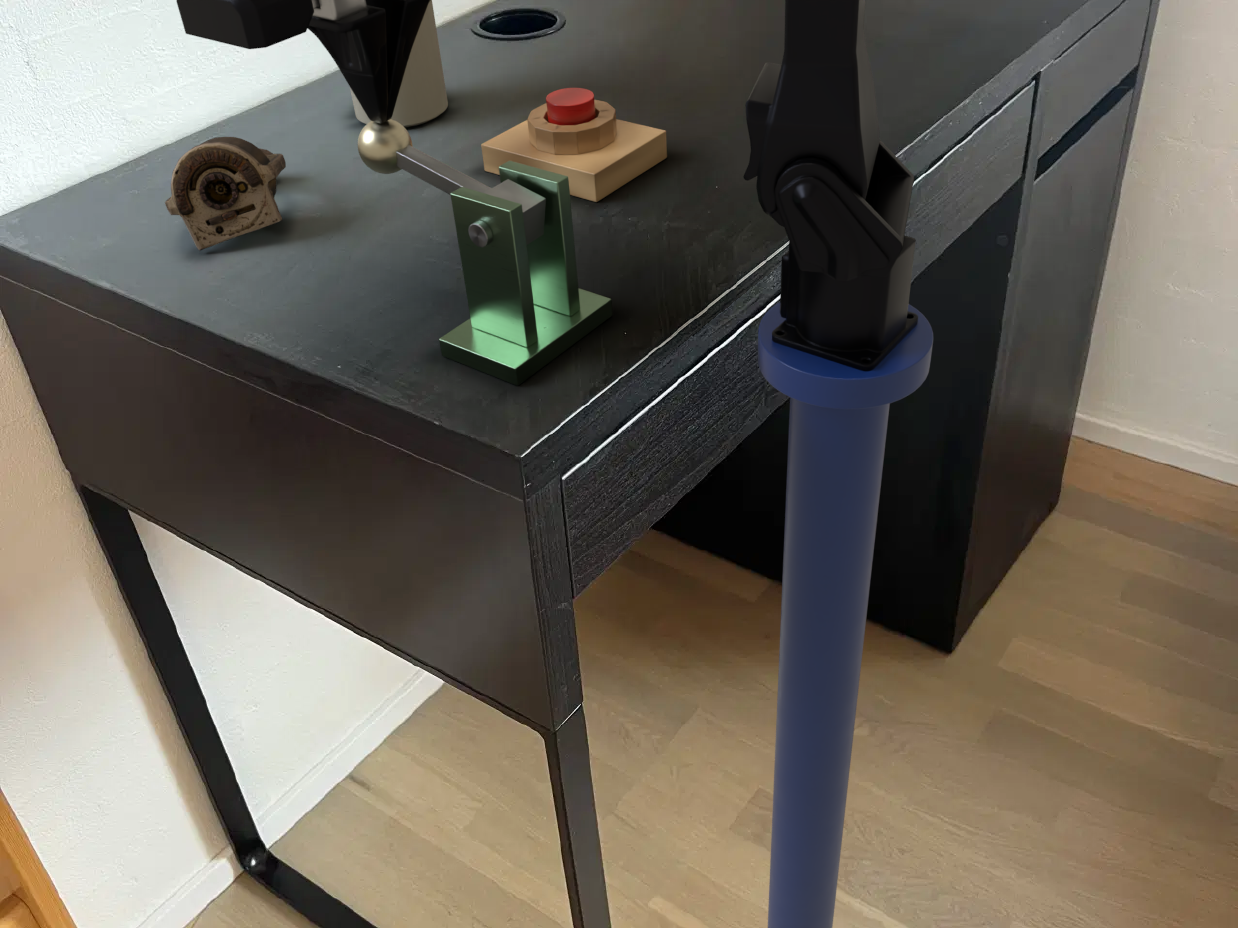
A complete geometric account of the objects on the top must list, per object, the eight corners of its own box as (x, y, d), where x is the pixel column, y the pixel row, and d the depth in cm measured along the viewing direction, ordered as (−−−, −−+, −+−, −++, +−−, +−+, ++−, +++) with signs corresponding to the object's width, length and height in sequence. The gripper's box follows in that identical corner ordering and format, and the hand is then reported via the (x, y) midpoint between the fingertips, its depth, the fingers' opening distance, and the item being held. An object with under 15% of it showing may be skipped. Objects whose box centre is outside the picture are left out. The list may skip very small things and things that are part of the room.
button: (605, 115, 86) (603, 92, 85) (575, 132, 84) (573, 109, 83) (568, 106, 88) (566, 84, 87) (538, 123, 86) (535, 100, 85)
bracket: (441, 356, 68) (413, 204, 62) (538, 290, 73) (521, 145, 67) (517, 386, 65) (496, 229, 59) (612, 315, 70) (601, 165, 64)
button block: (667, 157, 88) (665, 107, 86) (596, 202, 83) (592, 150, 80) (557, 130, 94) (552, 82, 91) (484, 171, 88) (477, 121, 86)
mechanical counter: (103, 184, 77) (226, 157, 74) (186, 96, 86) (298, 69, 83) (161, 271, 82) (279, 250, 79) (234, 179, 91) (342, 156, 88)
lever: (347, 169, 68) (344, 121, 66) (386, 150, 70) (384, 102, 68) (512, 260, 64) (515, 211, 62) (549, 237, 66) (552, 188, 63)
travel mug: (459, 119, 97) (424, -113, 86) (366, 138, 95) (318, -98, 84) (435, 89, 103) (400, -131, 92) (348, 106, 101) (301, -117, 90)
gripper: (350, -219, 67) (397, 50, 76) (66, -156, 55) (164, 150, 65) (492, -210, 61) (523, 78, 71) (208, -139, 50) (292, 193, 60)
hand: (380, 120), depth 67 cm, fingers closed
